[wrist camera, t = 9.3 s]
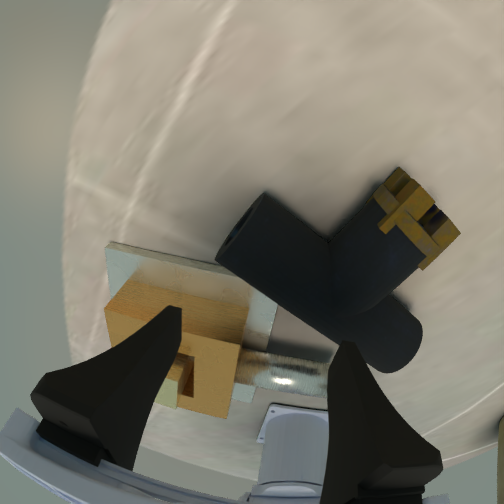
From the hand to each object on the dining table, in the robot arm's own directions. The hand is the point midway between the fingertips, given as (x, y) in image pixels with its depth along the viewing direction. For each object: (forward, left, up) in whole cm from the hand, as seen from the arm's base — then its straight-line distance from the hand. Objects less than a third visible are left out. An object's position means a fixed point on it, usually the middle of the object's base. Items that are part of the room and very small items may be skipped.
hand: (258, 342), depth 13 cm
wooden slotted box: (-10, +3, -9) cm, 14 cm away
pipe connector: (+1, -6, -10) cm, 11 cm away
